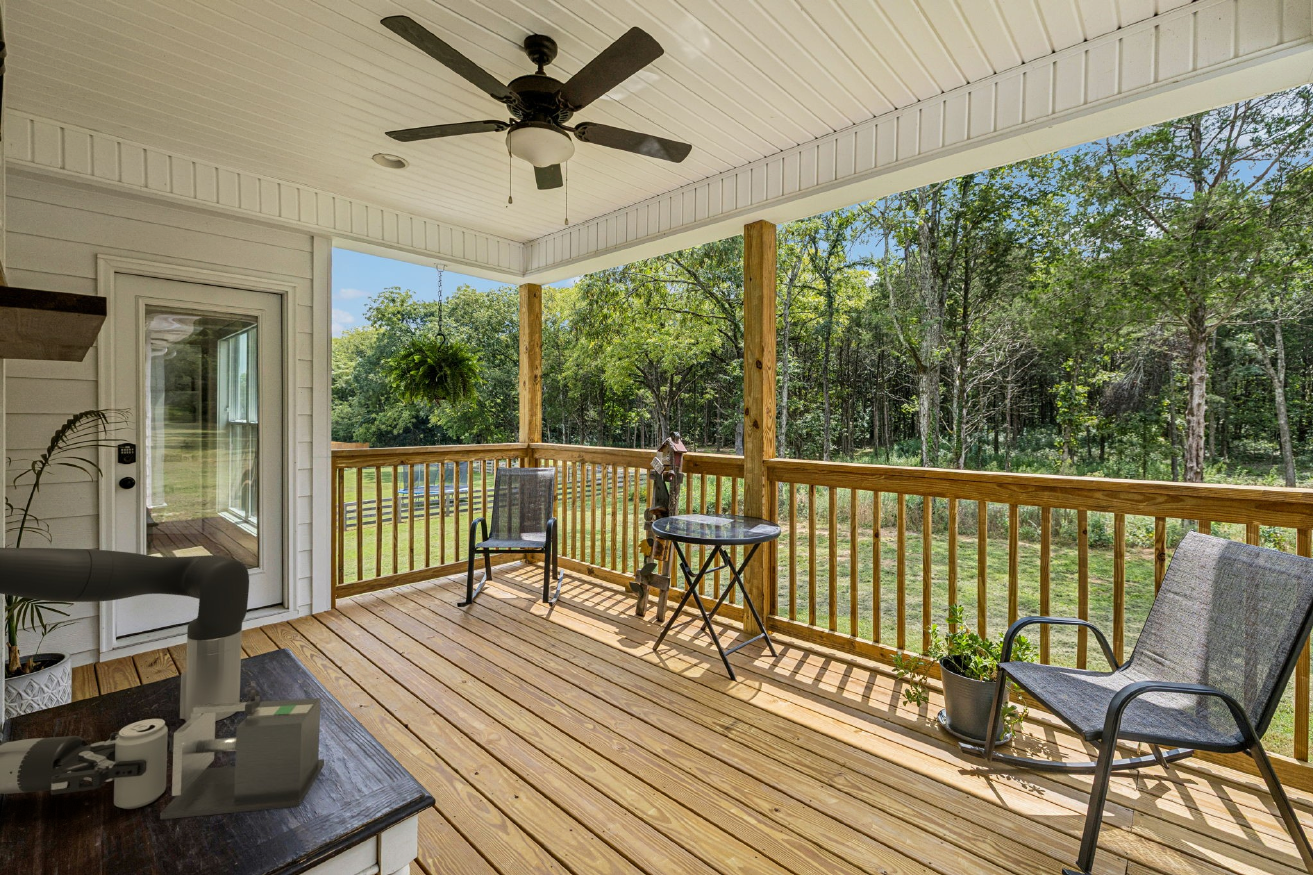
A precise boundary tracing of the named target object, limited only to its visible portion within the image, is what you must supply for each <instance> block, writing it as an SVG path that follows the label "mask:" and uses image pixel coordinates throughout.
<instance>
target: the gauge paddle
mask: <svg viewBox="0 0 1313 875" xmlns="http://www.w3.org/2000/svg"><path fill="white" fill-rule="evenodd" d="M247 702H248V701H247ZM247 702H246V701H245V702H239V703H225V704H216V703H208V704H207V705H196V706H195V707H194V708H193V712H192V713H191V719H189V720H188V721H187V722H186V721H185V723H184V724H182V725H181V726H180V727H179V728H178V729H177V730H176V731H174V732H173V746H172V747H173V751H172V752H173V754H172V755H173V756H172V782H171V784H172V786H171V796H172V797H176V796H177V795H181V794H182V793H183V792H184V791H185V790H186V789H187V788H188V787H189V786H190V785H191V784H192V783H193V781H194V780H195V779H196V778H197V777H198V776H199V775H200V774H201V773H202V772H203V771H204V770H205V769H206V768H209V767H208V766H210V764H212V762H213V761H214V760H215V753H223V752H234V751H235V752H236V737H227V738H226V737H225V738H216V737H215V736H216V721H215V714H216V713H217V712H234V711H237V712H245V704H246V703H247Z"/></svg>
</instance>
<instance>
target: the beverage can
mask: <svg viewBox="0 0 1313 875" xmlns="http://www.w3.org/2000/svg"><path fill="white" fill-rule="evenodd" d="M168 729H169V728H168V726H167V725H166V721H165V720H164V719H163V718H150V719H143V720H139V721H136V722H132V723H129V724H128V725H126V726H124V727H123V728H121V729H120V730H119V731H118V732H119V736H118V738H117V739H116V742H115V762H116V764H117V763H118V762H119V761H133V760H145V761H146V772H145V773H144V774H143V775H141V776H134V777H121V778H115V779H114V780H113V781H114V782H113V783H114V784H113V785H114V787H113V805H114V806H116V807H117V808H121V809H124V810H132V809H138V808H143V807H144V806H147V805H149V804H151V803H153V802H155V801H156V800H158V799H159V798H160V796H162V794H163V793H164V792H165V791H166V789H167V770H168V769H167V764H168V763H167V762H168V760H167V759H168V752H167V738H168V733H169V731H168Z"/></svg>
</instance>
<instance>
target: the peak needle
mask: <svg viewBox="0 0 1313 875" xmlns="http://www.w3.org/2000/svg"><path fill="white" fill-rule="evenodd" d="M249 698H250V699H249V700H248V701H247V703H246V704H245V711H244V715H249V714H252V713H253V712H254V711H255V710H256V709H257V708H258V707H259V705H260V703H261V696H260V695H258V696H257V695H256V690H255V689H253V690H250V697H249Z"/></svg>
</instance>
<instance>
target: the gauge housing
mask: <svg viewBox="0 0 1313 875" xmlns="http://www.w3.org/2000/svg"><path fill="white" fill-rule="evenodd" d="M321 701H322V700H321V697H320V698H318V697H317V698H316V697H314V698H302V699H301V698H299V699H286V700H285V699H284V700H266V701H265V700H263V701H260V705H259V707H258V708H257V709H256V710H255V711H254V712H253V713H252V714H247V715H246V717H245V718H244V719H243V720H241V722H240V723H239V724H237V726H236V731H235V732H236V733H235V734H236V735H235V738H236V751H235V761H234V762H235V763H234V765H233V766H231V765H230V766H222V767H207V768H206V769H205V770H204V771H203V772H202V773H201V774H200V775H199V776H198V777H197V778H196V779H195V780H194V781H193V783H192V784H191V785H190V786H189V787H188V788H187V789H186V790H185V791H184V792H183V793H182V794H181V795H176V796H174V798H173V799H172V800H171V801H170V802H169V804H167V806H166V807H164V809H163V810H162V811H161V812H160V814H159V816H160V817H159V820H160V821H161V820H170V819H179V818H180V819H181V818H190V817H192V818H193V817H201V816H202V817H203V816H211V815H212V816H213V815H222V814H232V813H233V814H234V813H244V812H253V811H254V812H255V811H266V810H273V809H274V810H275V809H287V808H295V807H297V808H298V807H300V805H301V804H302V802H303V800H304V799H305V797H306V795H307V794H308V792H309V791H310V789H311V788H312V785H313V783H314V782H315V780H316V778H317V777H318V775H319V774H320V772H321V770H322V769H323V767H324V765H325V759H324V758H322V759H319V751H320V723H321Z"/></svg>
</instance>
